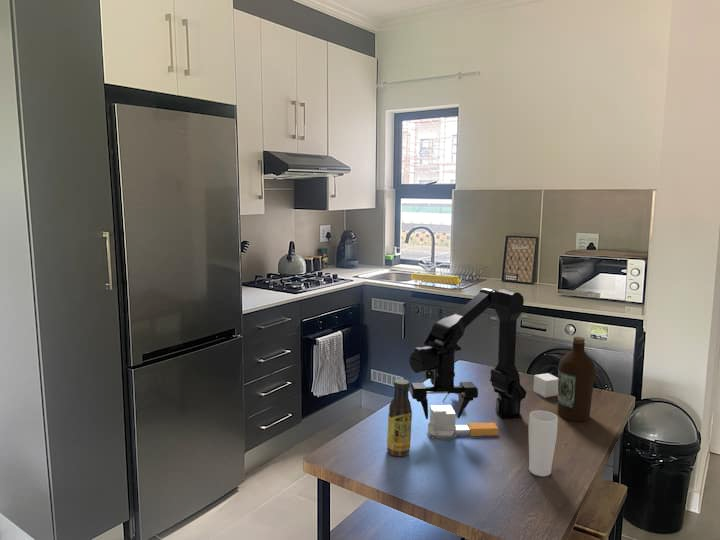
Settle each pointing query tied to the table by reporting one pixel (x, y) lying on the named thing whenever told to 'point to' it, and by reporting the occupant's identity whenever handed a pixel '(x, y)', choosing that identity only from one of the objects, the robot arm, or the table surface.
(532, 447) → the drinking glass
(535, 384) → the white cube
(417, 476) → the table surface
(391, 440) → the sauce bottle
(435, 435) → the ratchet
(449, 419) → the brushed metal cube
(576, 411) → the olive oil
